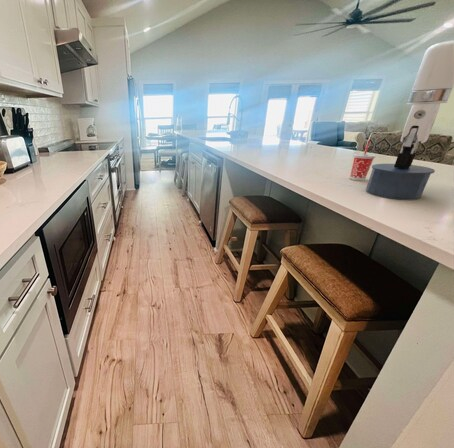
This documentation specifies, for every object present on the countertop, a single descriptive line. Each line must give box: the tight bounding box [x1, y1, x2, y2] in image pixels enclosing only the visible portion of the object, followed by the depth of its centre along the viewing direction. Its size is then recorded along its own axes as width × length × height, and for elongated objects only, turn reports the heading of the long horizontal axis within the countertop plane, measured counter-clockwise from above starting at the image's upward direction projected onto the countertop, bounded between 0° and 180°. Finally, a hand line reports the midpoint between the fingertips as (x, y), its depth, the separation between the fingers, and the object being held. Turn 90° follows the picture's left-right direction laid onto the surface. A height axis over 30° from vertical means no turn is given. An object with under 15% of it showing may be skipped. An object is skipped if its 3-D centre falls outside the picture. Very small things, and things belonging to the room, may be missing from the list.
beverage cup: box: [349, 140, 376, 182], centre depth 89 cm, size 6×6×14 cm
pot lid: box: [371, 163, 436, 175], centre depth 71 cm, size 14×14×6 cm
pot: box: [365, 168, 431, 201], centre depth 74 cm, size 13×13×8 cm
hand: (402, 166), depth 72 cm, fingers closed on pot lid, 2 cm apart
